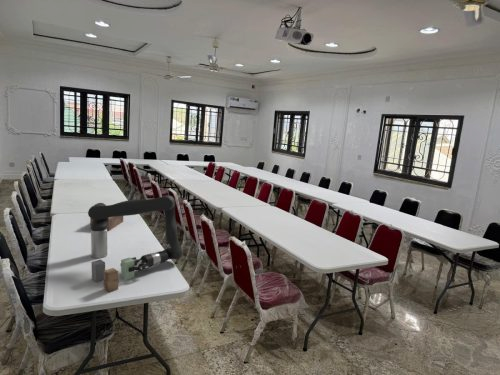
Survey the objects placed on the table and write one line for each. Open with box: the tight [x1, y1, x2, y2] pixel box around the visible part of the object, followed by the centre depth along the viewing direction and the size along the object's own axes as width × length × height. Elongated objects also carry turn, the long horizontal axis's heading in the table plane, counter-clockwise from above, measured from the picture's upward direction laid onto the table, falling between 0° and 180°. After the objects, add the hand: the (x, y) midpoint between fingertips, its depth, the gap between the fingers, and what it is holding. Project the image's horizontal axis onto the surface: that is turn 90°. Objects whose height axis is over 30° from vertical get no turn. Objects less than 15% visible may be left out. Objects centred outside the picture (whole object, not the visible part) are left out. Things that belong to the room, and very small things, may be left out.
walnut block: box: [103, 267, 119, 293], centre depth 174 cm, size 5×5×10 cm
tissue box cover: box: [89, 216, 124, 232], centre depth 272 cm, size 26×14×10 cm, turn 177°
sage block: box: [120, 257, 135, 281], centre depth 188 cm, size 5×5×10 cm
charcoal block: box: [91, 259, 106, 283], centre depth 183 cm, size 5×5×10 cm
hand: (124, 267), depth 187 cm, fingers open, 8 cm apart
